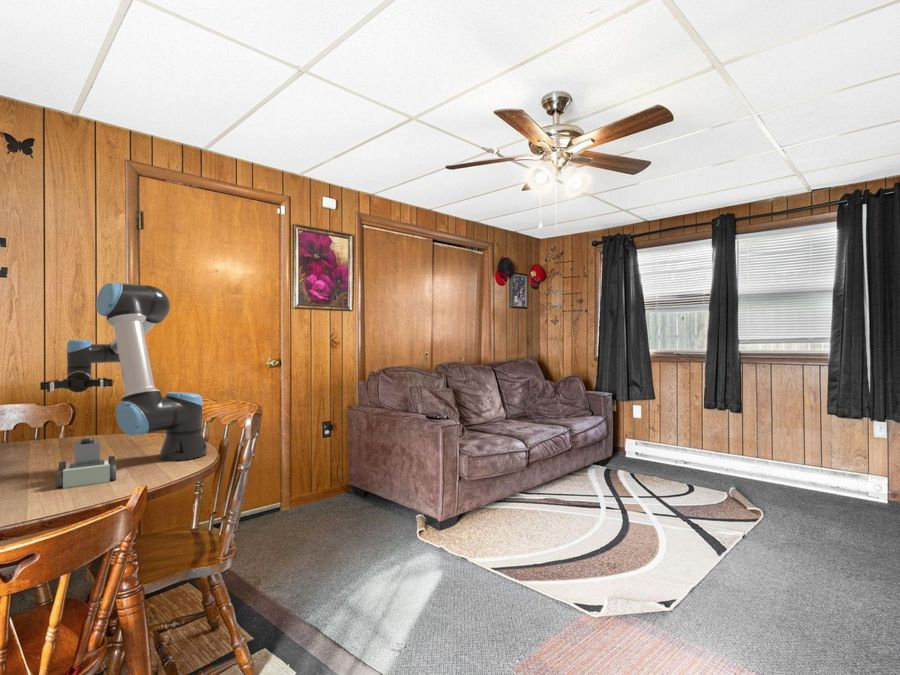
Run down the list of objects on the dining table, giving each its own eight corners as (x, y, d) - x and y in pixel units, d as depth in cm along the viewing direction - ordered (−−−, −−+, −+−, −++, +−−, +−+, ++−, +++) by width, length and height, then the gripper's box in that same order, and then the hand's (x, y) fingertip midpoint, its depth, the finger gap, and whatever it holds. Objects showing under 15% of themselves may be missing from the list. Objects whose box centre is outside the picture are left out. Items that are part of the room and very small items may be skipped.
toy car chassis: (59, 474, 152) (59, 458, 152) (114, 467, 161) (114, 452, 161) (55, 489, 139) (55, 471, 138) (116, 481, 147) (116, 464, 147)
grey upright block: (75, 470, 150) (75, 438, 150) (99, 467, 154) (99, 435, 154) (74, 475, 145) (74, 441, 145) (99, 472, 149) (99, 439, 149)
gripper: (119, 389, 189) (121, 394, 172) (35, 394, 174) (28, 400, 157) (118, 370, 189) (121, 373, 172) (34, 373, 174) (28, 377, 157)
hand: (77, 386), depth 165 cm, fingers open, 13 cm apart
